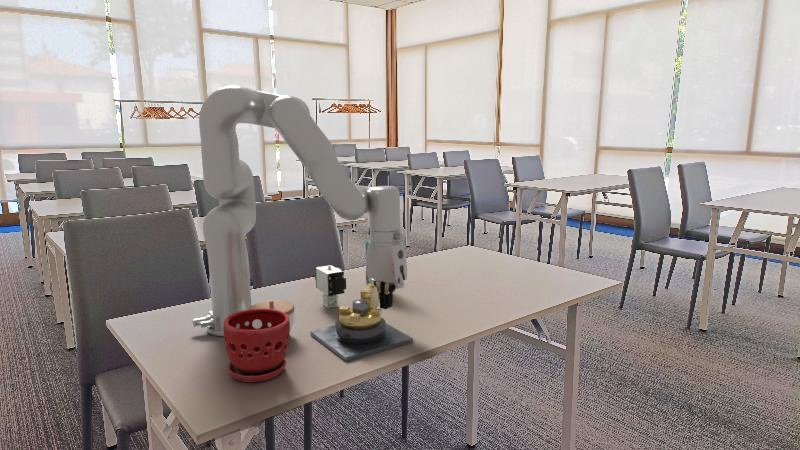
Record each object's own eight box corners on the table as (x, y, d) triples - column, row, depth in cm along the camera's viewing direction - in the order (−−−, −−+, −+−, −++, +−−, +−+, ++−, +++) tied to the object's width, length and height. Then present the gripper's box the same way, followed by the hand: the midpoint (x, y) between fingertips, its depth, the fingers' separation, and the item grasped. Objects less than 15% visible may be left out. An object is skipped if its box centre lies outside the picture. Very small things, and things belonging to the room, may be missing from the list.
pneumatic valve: (331, 314, 142) (330, 271, 140) (314, 302, 152) (313, 262, 150) (349, 310, 145) (348, 268, 143) (332, 298, 155) (330, 259, 152)
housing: (345, 361, 113) (345, 344, 112) (309, 334, 128) (309, 319, 127) (412, 342, 123) (412, 326, 122) (372, 319, 138) (371, 304, 137)
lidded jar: (304, 337, 126) (302, 300, 125) (264, 350, 119) (262, 311, 117) (280, 325, 134) (278, 290, 132) (242, 337, 127) (239, 300, 125)
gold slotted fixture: (375, 331, 119) (374, 306, 117) (333, 327, 121) (332, 303, 120) (392, 306, 135) (392, 284, 134) (355, 303, 137) (355, 282, 136)
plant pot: (239, 394, 99) (235, 335, 97) (218, 369, 110) (214, 315, 108) (302, 375, 107) (299, 320, 105) (276, 353, 117) (274, 302, 115)
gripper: (418, 237, 127) (418, 309, 130) (371, 230, 136) (373, 298, 139) (399, 242, 121) (400, 318, 124) (352, 235, 130) (354, 305, 133)
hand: (386, 307), depth 132 cm, fingers closed
